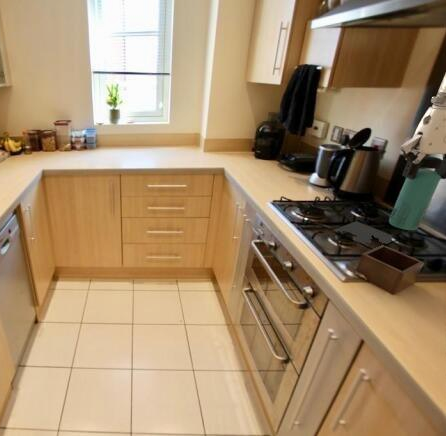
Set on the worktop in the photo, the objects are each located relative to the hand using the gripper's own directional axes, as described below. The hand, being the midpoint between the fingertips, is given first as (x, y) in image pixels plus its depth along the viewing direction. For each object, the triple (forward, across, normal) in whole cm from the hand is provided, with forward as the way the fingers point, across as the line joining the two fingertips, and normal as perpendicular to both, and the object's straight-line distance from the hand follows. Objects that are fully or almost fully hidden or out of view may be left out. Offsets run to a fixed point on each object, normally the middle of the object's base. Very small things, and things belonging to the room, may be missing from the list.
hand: (423, 176), depth 78 cm
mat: (+29, +8, +20) cm, 37 cm away
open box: (+29, -2, -3) cm, 29 cm away
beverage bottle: (+15, 0, 0) cm, 15 cm away
